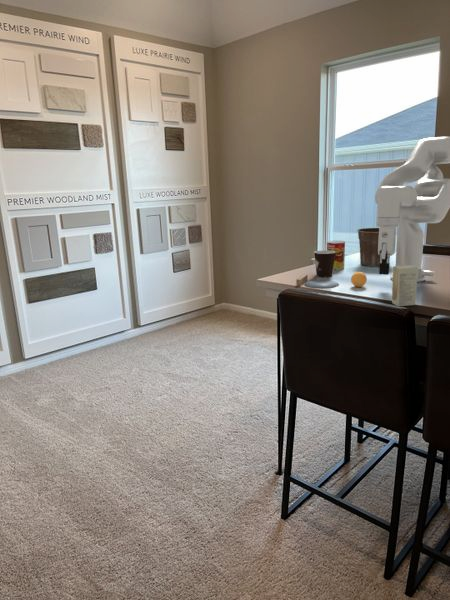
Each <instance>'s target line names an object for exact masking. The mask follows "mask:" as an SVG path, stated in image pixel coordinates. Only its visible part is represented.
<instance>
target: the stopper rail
mask: <svg viewBox="0 0 450 600" xmlns="http://www.w3.org/2000/svg"><path fill="white" fill-rule="evenodd" d="M308 277H309V276H308V274H301V276H299V277H298V278H297V279H296V280H295V282H296V287H300V286H302V285H305V283H306V282H309V281H308Z"/></svg>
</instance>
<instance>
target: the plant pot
mask: <svg viewBox="0 0 450 600" xmlns="http://www.w3.org/2000/svg"><path fill="white" fill-rule="evenodd" d="M356 231H357V233H358V234H357V236H358V242H359V260H360V261H359V262H360V265H362V266H365V267H370V268H371V267H373V268H375V267H380V257H381V256H380V255H379V254H378V239H379V227H365V228H364V227H363V228H358V229H357V230H356Z"/></svg>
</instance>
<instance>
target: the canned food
mask: <svg viewBox="0 0 450 600" xmlns="http://www.w3.org/2000/svg"><path fill="white" fill-rule="evenodd" d="M326 251H335V258H334V265H333V269H340V270H344V269H345V259H346V258H345V257H346V255H345V253H346V252H345V251H346V240H345V241H344V240H329V241H326Z"/></svg>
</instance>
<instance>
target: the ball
mask: <svg viewBox="0 0 450 600" xmlns="http://www.w3.org/2000/svg"><path fill="white" fill-rule="evenodd" d="M367 280H368V279H367V276H366V274H365V273H364V272H362V271H357V272H354V273H353V274H352V275H351V277H350V281H351V284H352V285H353V286H354V287H356V288H360V287H364V286H365V285H366V284H367Z"/></svg>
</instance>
